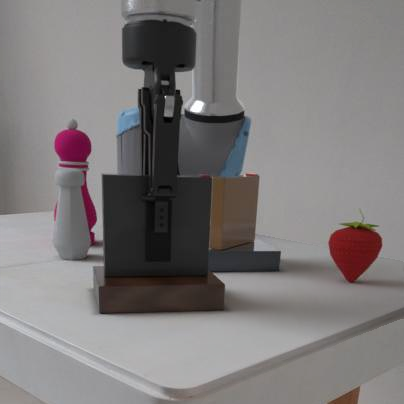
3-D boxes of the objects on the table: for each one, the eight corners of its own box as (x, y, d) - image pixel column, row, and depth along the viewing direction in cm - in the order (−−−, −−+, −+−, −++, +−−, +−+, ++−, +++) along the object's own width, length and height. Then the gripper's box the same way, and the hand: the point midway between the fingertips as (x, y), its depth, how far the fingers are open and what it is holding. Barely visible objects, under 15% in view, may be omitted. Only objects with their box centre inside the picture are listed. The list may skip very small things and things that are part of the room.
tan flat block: (220, 250, 82) (225, 176, 78) (209, 248, 83) (212, 175, 79) (254, 240, 90) (259, 173, 87) (243, 239, 91) (248, 173, 88)
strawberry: (317, 276, 82) (325, 206, 79) (366, 276, 83) (376, 207, 80) (332, 286, 77) (341, 211, 73) (383, 286, 78) (396, 212, 74)
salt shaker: (56, 261, 84) (52, 169, 79) (50, 254, 89) (45, 167, 84) (95, 260, 86) (93, 170, 81) (87, 252, 91) (84, 167, 86)
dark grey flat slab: (105, 276, 64) (102, 172, 59) (103, 272, 65) (101, 170, 61) (208, 275, 66) (212, 175, 62) (203, 271, 68) (208, 174, 64)
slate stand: (201, 271, 82) (202, 251, 81) (187, 257, 91) (187, 239, 90) (279, 271, 84) (281, 251, 83) (257, 257, 93) (259, 239, 92)
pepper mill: (88, 248, 94) (84, 118, 87) (48, 244, 96) (40, 116, 88) (103, 241, 101) (101, 120, 94) (65, 238, 102) (60, 118, 95)
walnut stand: (99, 313, 61) (98, 286, 60) (93, 289, 70) (92, 265, 69) (223, 310, 64) (225, 284, 63) (203, 287, 73) (204, 264, 72)
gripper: (214, 14, 51) (203, 272, 59) (181, 39, 64) (175, 246, 73) (131, 6, 49) (131, 273, 57) (114, 33, 62) (117, 246, 71)
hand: (156, 258), depth 65 cm, fingers closed on dark grey flat slab, 2 cm apart
